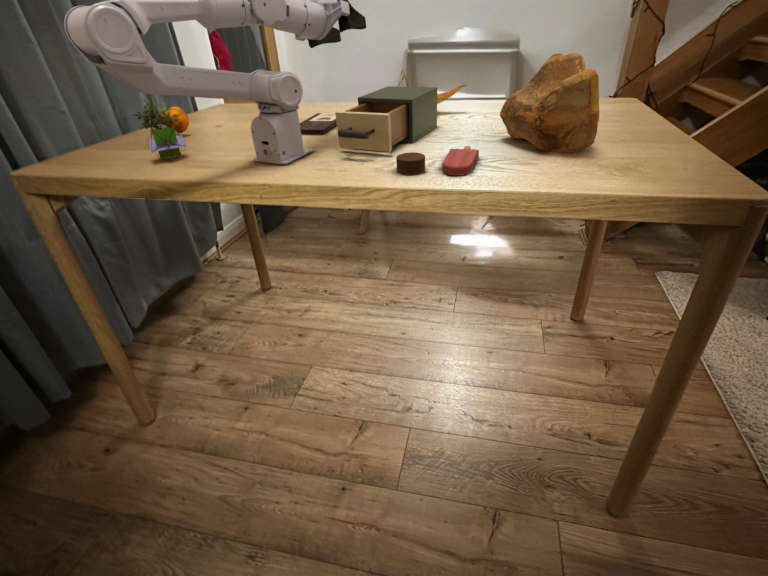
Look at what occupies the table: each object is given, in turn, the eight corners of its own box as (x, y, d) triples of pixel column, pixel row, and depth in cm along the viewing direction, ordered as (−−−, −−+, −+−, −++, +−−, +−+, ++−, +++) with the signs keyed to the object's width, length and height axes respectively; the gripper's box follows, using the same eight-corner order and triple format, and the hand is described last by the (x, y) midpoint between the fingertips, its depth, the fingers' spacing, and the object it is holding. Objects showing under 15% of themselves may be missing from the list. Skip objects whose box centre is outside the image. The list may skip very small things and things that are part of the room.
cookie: (418, 176, 73) (418, 161, 71) (392, 173, 75) (391, 159, 73) (429, 167, 77) (429, 153, 75) (403, 165, 78) (403, 151, 77)
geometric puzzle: (189, 151, 86) (176, 113, 86) (153, 157, 83) (139, 118, 83) (191, 165, 93) (179, 130, 93) (157, 171, 90) (145, 136, 90)
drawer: (379, 158, 80) (377, 119, 76) (327, 153, 84) (323, 116, 80) (416, 134, 93) (415, 101, 89) (369, 131, 97) (367, 99, 94)
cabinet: (412, 143, 91) (412, 99, 86) (360, 139, 96) (357, 97, 91) (436, 127, 101) (437, 87, 97) (388, 124, 106) (387, 86, 102)
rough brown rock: (496, 131, 98) (496, 58, 90) (573, 123, 95) (581, 47, 87) (505, 166, 80) (506, 78, 71) (601, 158, 76) (615, 65, 68)
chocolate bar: (288, 129, 102) (317, 113, 117) (289, 133, 103) (318, 116, 117) (323, 129, 100) (348, 113, 114) (324, 134, 101) (349, 117, 115)
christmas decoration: (216, 148, 117) (177, 150, 98) (173, 135, 116) (127, 135, 97) (221, 111, 113) (182, 105, 94) (177, 98, 113) (129, 90, 94)
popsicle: (482, 143, 82) (470, 167, 71) (481, 151, 83) (470, 176, 71) (454, 142, 84) (438, 166, 72) (454, 150, 85) (438, 175, 73)
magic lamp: (467, 115, 110) (469, 67, 104) (397, 117, 112) (396, 70, 106) (466, 110, 115) (469, 64, 109) (400, 111, 118) (399, 67, 112)
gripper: (318, -26, 73) (373, -7, 83) (272, 8, 83) (326, 21, 93) (325, 19, 75) (378, 33, 84) (278, 47, 85) (331, 56, 94)
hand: (351, 29), depth 88 cm, fingers open, 7 cm apart
